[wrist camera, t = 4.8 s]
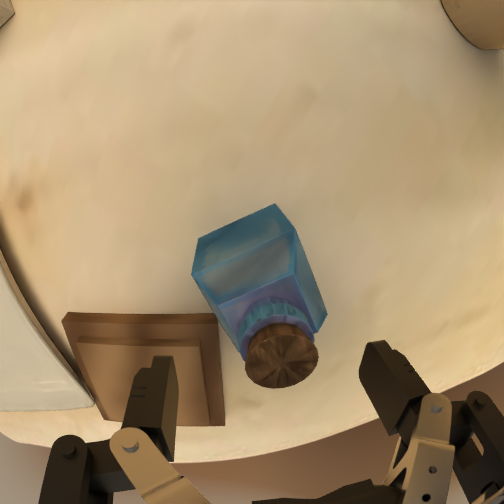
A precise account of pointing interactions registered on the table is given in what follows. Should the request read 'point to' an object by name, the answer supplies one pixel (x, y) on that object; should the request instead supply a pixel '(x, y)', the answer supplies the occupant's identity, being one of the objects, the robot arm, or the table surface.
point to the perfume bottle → (263, 295)
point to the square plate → (32, 359)
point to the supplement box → (5, 11)
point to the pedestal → (149, 360)
